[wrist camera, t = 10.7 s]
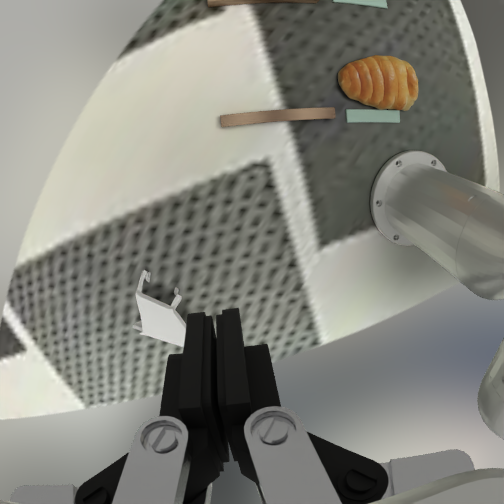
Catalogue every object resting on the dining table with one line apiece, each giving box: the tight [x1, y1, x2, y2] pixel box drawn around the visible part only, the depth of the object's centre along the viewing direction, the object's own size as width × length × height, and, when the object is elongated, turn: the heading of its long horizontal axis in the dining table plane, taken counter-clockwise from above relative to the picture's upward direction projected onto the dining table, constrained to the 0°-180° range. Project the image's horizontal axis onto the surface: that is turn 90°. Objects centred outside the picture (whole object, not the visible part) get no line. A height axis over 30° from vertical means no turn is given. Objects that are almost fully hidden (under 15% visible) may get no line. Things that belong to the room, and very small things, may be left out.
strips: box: [332, 0, 400, 123], centre depth 30 cm, size 7×16×1 cm, turn 6°
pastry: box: [338, 55, 418, 111], centre depth 30 cm, size 9×7×4 cm
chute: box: [208, 0, 335, 127], centre depth 29 cm, size 12×15×2 cm
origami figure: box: [132, 270, 186, 347], centre depth 39 cm, size 12×8×5 cm
